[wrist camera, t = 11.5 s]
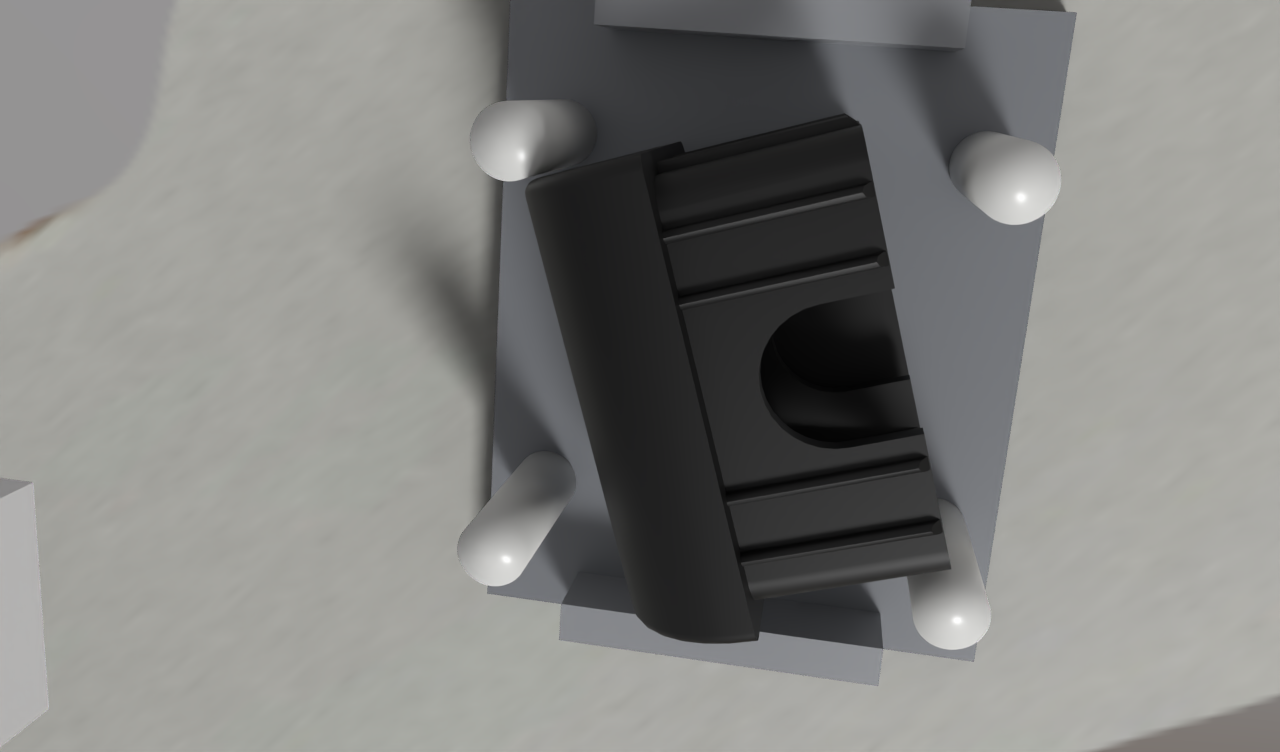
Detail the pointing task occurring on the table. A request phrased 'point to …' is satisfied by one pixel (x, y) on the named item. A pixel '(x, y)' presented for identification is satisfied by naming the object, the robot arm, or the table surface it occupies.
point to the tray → (917, 248)
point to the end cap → (740, 373)
